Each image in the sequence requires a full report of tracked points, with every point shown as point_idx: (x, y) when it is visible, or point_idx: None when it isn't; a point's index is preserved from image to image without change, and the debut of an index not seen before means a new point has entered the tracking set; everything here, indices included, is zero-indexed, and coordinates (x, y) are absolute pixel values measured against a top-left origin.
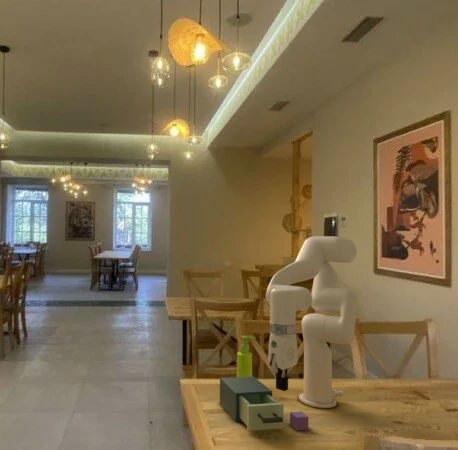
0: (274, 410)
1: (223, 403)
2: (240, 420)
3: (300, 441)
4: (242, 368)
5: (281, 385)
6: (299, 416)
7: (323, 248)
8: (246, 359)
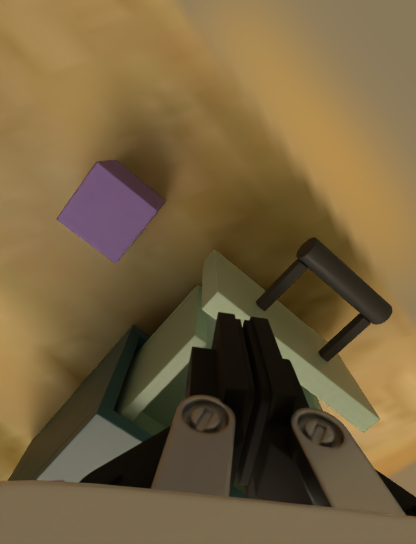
0: (259, 312)
1: None
2: None
3: (259, 148)
4: None
5: (292, 371)
6: (133, 203)
7: None
8: None
